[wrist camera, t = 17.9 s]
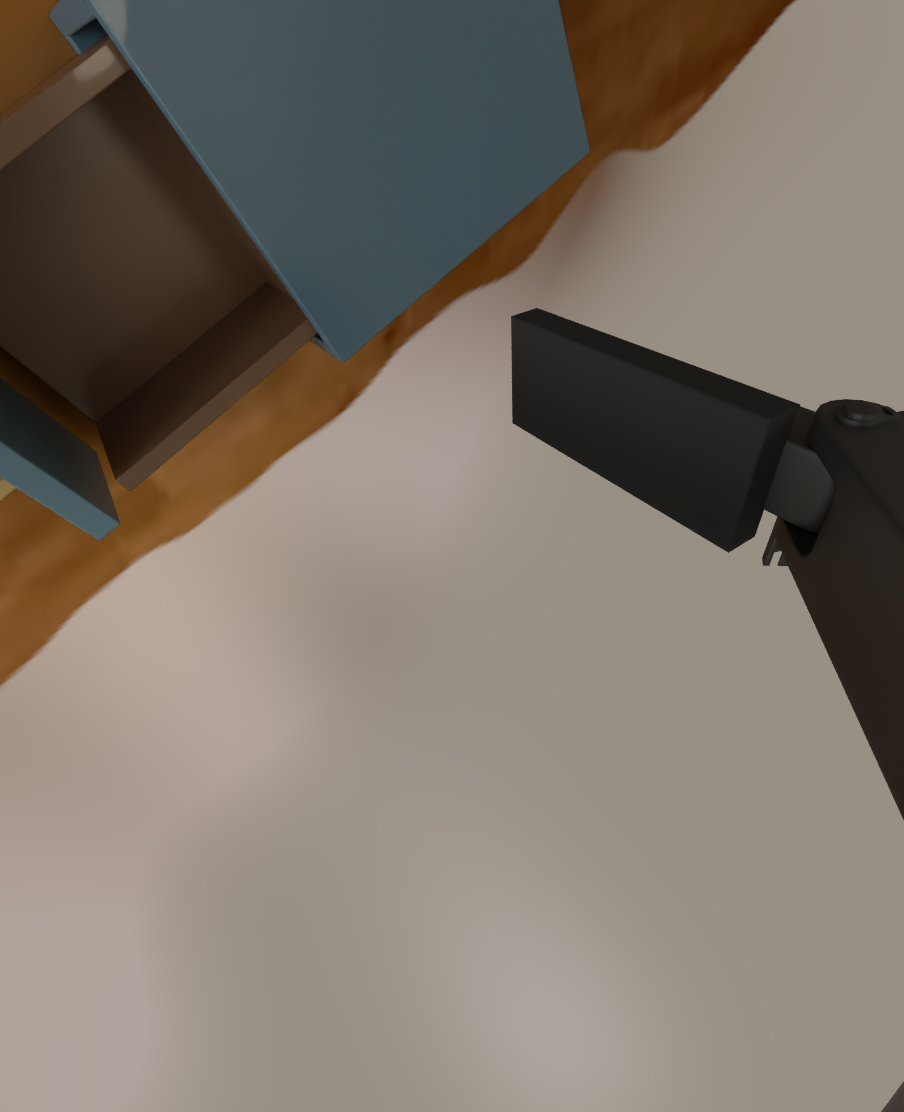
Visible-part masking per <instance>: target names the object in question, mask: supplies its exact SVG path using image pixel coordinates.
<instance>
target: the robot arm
mask: <svg viewBox="0 0 904 1112" xmlns="http://www.w3.org/2000/svg"><path fill="white" fill-rule="evenodd" d="M511 329H512V331H511V332H512V407H513V408H512V415H513V424H515V425H517V426H518V427H520V428H522V429H523V430H525V431H527V432H528V433H530V434H532V435H533V436H535V437H537V438H538V439H540V440H542V441H543V442H545V443H547V444H548V445H550V446H552V447H554V448H555V449H557V450H558V451H560V452H562V453H563V454H565V455H567V456H568V457H570V458H572V459H573V460H575V461H577V462H578V463H580V464H582V465H583V466H585V467H587V468H588V469H590V470H592V471H593V472H595V473H597V474H599V475H600V476H602V477H603V478H605V479H607V480H608V481H610V482H612V483H613V484H615V485H617V486H618V487H620V488H622V489H623V490H625V491H627V492H629V493H630V494H632V495H633V496H635V497H637V498H639V499H640V500H642V501H644V502H645V503H647V504H648V505H650V506H652V507H653V508H655V509H657V510H658V511H660V512H662V513H664V514H665V515H667V516H669V517H670V518H672V519H673V520H675V521H677V522H678V523H680V524H682V525H683V526H685V527H687V528H689V529H690V530H692V531H693V532H695V533H697V534H698V535H700V536H702V537H703V538H705V539H707V540H709V541H710V542H712V543H713V544H715V545H717V546H718V547H720V548H722V549H723V550H725V551H727V552H728V553H729V552H730V551H732V550H733V549H735V548H737V547H738V546H740V545H742V544H743V543H745V542H746V541H748V540H750V539H751V538H753V537H754V536H755V534H756V531H757V528H758V526H759V523H760V520H761V517H762V513H763V511H764V510H766V511H768V512H770V513H772V514H774V515H776V516H777V519H776V522H775V525H774V528H773V530H772V533H771V536H770V538H769V541H768V544H767V546H766V549H765V552H764V554H763V557H762V560H763V565H764V566H765V565H766V566H769V564H770V562H771V559H772V557H773V554H774V552H778V551H782V555H781V557H780V560H779V562H778V566H788V567H789V569H790V571H791V573H792V575H793V578H794V580H795V582H796V584H797V587H798V589H799V591H800V593H801V595H802V597H803V600H804V602H805V604H806V606H807V609H808V611H809V613H810V615H811V617H812V620H813V622H814V624H815V626H816V628H817V631H818V633H819V635H820V637H821V639H822V642H823V644H824V646H825V648H826V650H827V653H828V655H829V657H830V659H831V661H832V664H833V666H834V668H835V670H836V672H837V674H838V677H839V679H840V681H841V683H842V685H843V687H844V690H845V692H846V694H847V696H848V699H849V701H850V703H851V705H852V707H853V710H854V712H855V714H856V716H857V718H858V721H859V723H860V725H861V727H862V729H863V731H864V734H865V736H866V738H867V740H868V742H869V745H870V747H871V749H872V751H873V754H874V756H875V758H876V760H877V762H878V765H879V767H880V769H881V771H882V773H883V776H884V778H885V780H886V782H887V784H888V786H889V789H890V791H891V793H892V795H893V798H894V800H895V802H896V804H897V806H898V808H899V811H900V813H901V815H902V817H903V819H904V411H900V412H896V411H894V410H893V409H891V408H890V407H887V406H883V405H880V404H877V403H871V402H867V401H863V400H848V399H844V400H835V401H829V402H827V403H824V404H822V405H821V406H820V407H819V408H818V409H817V411H816V412H814V411H811V410H809V409H806V408H803V407H800V404H797V403H794V402H792V401H789V400H786V399H783V398H780V397H778V396H775V395H773V394H770V393H767V392H764V391H762V390H759V389H756V388H753V387H751V386H748V385H745V384H742V383H740V382H737V381H734V380H732V379H729V378H726V377H724V376H721V375H718V374H715V373H712V372H710V371H707V370H704V369H702V368H699V367H696V366H694V365H690V364H688V363H685V362H683V361H680V360H677V359H674V358H672V357H669V356H666V355H664V354H661V353H658V352H655V351H653V350H650V349H647V348H644V347H642V346H639V345H636V344H634V343H631V342H628V341H625V340H623V339H620V338H617V337H614V336H612V335H609V334H606V333H604V332H601V331H598V330H595V329H593V328H590V327H587V326H585V325H582V324H579V323H576V322H574V321H571V320H568V319H565V318H563V317H559V316H557V315H555V314H552V313H549V312H546V311H544V310H541V309H538V308H536V309H533V310H530V311H527V312H523V313H520V314H517V315H514V316H511ZM882 1112H904V1082H903V1083H902V1084H901V1086H900V1087H899V1088H898V1090H897V1091H896V1093H895V1094H894V1095H893V1097H892V1098H891V1099H890V1101H889V1102H888V1103H887V1105H886V1106H885V1107H884V1109H883V1110H882Z"/></svg>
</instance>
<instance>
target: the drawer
mask: <svg viewBox="0 0 904 1112" xmlns="http://www.w3.org/2000/svg"><path fill="white" fill-rule="evenodd" d="M317 333H318V332H317V331H316V330H315V328H314V327H313V325H312V324H311V322H310V321H309V320H308V318H307V317H306V315H305V314H304V312H303V311H302V310H301V308H300V307H299V305H298V304H297V303H296V301H295V300H294V298H293V297H292V295H291V294H290V293H289V291H288V290H287V288H286V287H285V285H284V284H283V283H282V281H281V280H280V278H279V277H278V276H277V274H276V273H275V271H274V270H273V268H272V267H271V266H270V264H269V263H268V261H267V260H266V258H265V257H264V256H263V254H262V253H261V251H260V250H259V249H258V247H257V246H256V244H255V243H254V241H253V240H252V239H251V237H250V236H249V234H248V233H247V231H246V230H245V229H244V227H243V226H242V224H241V223H240V222H239V220H238V219H237V217H236V216H235V214H234V213H233V212H232V210H231V209H230V207H229V206H228V204H227V203H226V202H225V200H224V199H223V197H222V196H221V195H220V193H219V192H218V190H217V189H216V187H215V186H214V185H213V183H212V182H211V180H210V179H209V177H208V176H207V175H206V173H205V172H204V170H203V169H202V168H201V166H200V165H199V163H198V162H197V160H196V159H195V158H194V156H193V155H192V153H191V152H190V150H189V149H188V148H187V146H186V145H185V143H184V142H183V141H182V139H181V138H180V136H179V135H178V133H177V132H176V131H175V129H174V128H173V126H172V125H171V123H170V122H169V121H168V119H167V118H166V116H165V115H164V114H163V112H162V111H161V109H160V108H159V106H158V105H157V104H156V102H155V101H154V99H153V98H152V96H151V95H150V94H149V92H148V91H147V89H146V88H145V87H144V85H143V84H142V82H141V81H140V79H139V78H138V77H137V75H136V74H135V72H134V71H133V69H132V68H131V67H130V65H129V64H128V62H127V61H126V59H125V58H124V57H123V55H122V54H121V52H120V51H119V50H118V48H117V47H116V45H115V44H114V42H113V41H112V40H111V38H110V37H109V35H108V34H107V33H106V34H105V35H103V36H102V37H101V38H99V39H98V40H97V41H96V42H94V43H93V44H92V45H90V46H89V47H88V48H86V49H85V50H84V51H82V52H81V53H80V54H79V55H77V56H76V57H75V58H73V59H72V60H71V61H69V62H68V63H67V64H65V65H64V66H63V67H62V68H60V69H59V70H58V71H56V72H55V73H54V74H52V75H51V76H50V77H49V78H47V79H46V80H45V81H43V82H42V83H41V84H39V85H38V86H37V87H35V88H34V89H33V90H32V91H30V92H29V93H28V94H26V95H25V96H24V97H22V98H21V99H20V100H18V101H17V102H16V103H15V104H13V105H12V106H11V107H9V108H8V109H7V110H5V111H4V112H3V113H1V114H0V347H1V348H2V349H3V350H5V351H6V352H7V353H8V354H10V355H11V356H12V357H13V358H15V359H16V360H17V361H18V362H20V363H21V364H22V365H23V366H25V367H26V368H27V369H28V370H29V371H31V372H32V373H33V374H34V375H36V376H37V377H38V378H39V379H41V380H42V381H43V382H44V383H46V384H47V385H48V386H49V387H51V388H52V389H53V390H54V391H55V392H57V393H58V394H59V395H60V396H62V397H63V398H64V399H65V400H67V401H68V402H69V403H70V404H72V405H73V406H74V407H75V408H77V409H78V410H79V411H80V412H81V413H83V414H84V415H85V416H86V417H88V418H89V419H90V420H91V421H93V422H94V423H95V424H96V426H97V429H98V432H99V435H100V437H101V440H102V443H103V446H104V449H105V451H106V454H107V457H108V460H109V462H110V465H111V468H112V471H113V474H114V476H115V479H116V481H117V482H118V483H120V484H121V485H122V486H124V487H125V488H126V489H128V490H129V491H131V490H133V489H134V488H135V487H136V486H137V485H139V484H140V483H141V482H142V481H143V480H145V479H146V478H147V477H148V476H149V475H150V474H152V473H153V472H154V471H155V470H156V469H158V468H159V467H160V466H161V465H162V464H163V463H165V462H166V461H167V460H168V459H169V458H171V457H172V456H173V455H174V454H175V453H176V452H178V451H179V450H180V449H181V448H182V447H184V446H185V445H186V444H187V443H188V442H189V441H191V440H192V439H193V438H194V437H195V436H197V435H198V434H199V433H200V432H201V431H202V430H204V429H205V428H206V427H207V426H208V425H210V424H211V423H212V422H213V421H214V420H215V419H217V418H218V417H219V416H220V415H221V414H222V413H224V412H225V411H226V410H227V409H228V408H230V407H231V406H232V405H233V404H234V403H235V402H237V401H238V400H239V399H240V398H241V397H243V396H244V395H245V394H246V393H247V392H248V391H250V390H251V389H252V388H253V387H254V386H256V385H257V384H258V383H259V382H260V381H261V380H263V379H264V378H265V377H266V376H267V375H269V374H270V373H271V372H272V371H273V370H274V369H276V368H277V367H278V366H279V365H280V364H282V363H283V362H284V361H285V360H286V359H287V358H289V357H290V356H291V355H292V354H293V353H295V352H296V351H297V350H298V349H299V348H300V347H302V346H303V345H304V344H305V343H306V342H308V341H309V340H310V339H311V338H312V337H313V336H315V335H316V334H317ZM15 488H17V489H19V490H20V491H22V492H24V493H25V494H27V495H28V496H30V497H31V498H33V499H35V500H36V501H38V502H39V503H41V504H42V505H44V506H46V507H47V508H49V509H50V510H52V511H53V512H55V513H57V514H58V515H60V516H61V517H63V518H65V519H66V520H68V521H69V522H71V523H72V524H74V525H76V526H77V527H79V528H80V529H82V530H83V531H85V532H87V533H88V534H90V535H91V536H93V537H94V538H96V539H98V540H101V539H103V538H104V537H105V536H106V535H107V534H108V533H110V532H111V531H112V530H113V529H114V528H116V527H117V526H118V525H119V524H120V521H119V518H118V515H117V512H116V509H115V506H114V503H113V500H112V497H111V494H110V491H109V488H108V485H107V482H106V479H105V476H104V473H103V470H102V467H101V464H100V461H99V458H98V455H97V452H96V451H95V450H93V449H92V448H91V447H90V446H88V445H87V444H86V443H84V442H83V441H82V440H80V439H79V438H78V437H77V436H75V435H74V434H73V433H71V432H70V431H69V430H67V429H66V428H65V427H63V426H62V425H61V424H60V423H58V422H57V421H56V420H54V419H53V418H52V417H50V416H49V415H48V414H47V413H45V412H44V411H43V410H41V409H40V408H39V407H37V406H36V405H35V404H33V403H32V402H31V401H30V400H28V399H27V398H26V397H24V396H23V395H22V394H20V393H19V392H18V391H17V390H15V389H14V388H13V387H11V386H10V385H9V384H7V383H6V382H5V381H3V380H2V379H1V378H0V501H1V500H2V499H3V498H4V497H6V496H7V495H8V494H9V493H10V492H12V491H13V490H14V489H15Z"/></svg>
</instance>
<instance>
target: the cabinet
mask: <svg viewBox="0 0 904 1112" xmlns="http://www.w3.org/2000/svg"><path fill="white" fill-rule="evenodd" d="M49 16H50V18H51V19H52V21H53V22H54V23H55V25H56V26H57V27H58V29H59V30H60V31H61V33H62V34H63V35H64V37H65V38H66V39H67V41H68V42H69V43H70V45H71V46H72V47H73V48H74V50H75V51H76V52H77V54H78V55H79V54H80V53H81V52H82V51H84V50H85V49H86V48H88V47H89V46H90V45H92V44H93V43H94V42H96V41H97V40H98V39H99V38H101V37H102V36H103V35H105V34H106V33H107V34H108V35H109V37H110V38H111V40H112V41H113V42H114V44H115V45H116V47H117V48H118V50H119V51H120V52H121V54H122V55H123V57H124V58H125V59H126V61H127V62H128V64H129V65H130V67H131V68H132V69H133V71H134V72H135V74H136V75H137V77H138V78H139V79H140V81H141V82H142V84H143V85H144V87H145V88H146V89H147V91H148V92H149V94H150V95H151V96H152V98H153V99H154V101H155V102H156V104H157V105H158V106H159V108H160V109H161V111H162V112H163V114H164V115H165V116H166V118H167V119H168V121H169V122H170V123H171V125H172V126H173V128H174V129H175V131H176V132H177V133H178V135H179V136H180V138H181V139H182V141H183V142H184V143H185V145H186V146H187V148H188V149H189V150H190V152H191V153H192V155H193V156H194V158H195V159H196V160H197V162H198V163H199V165H200V166H201V168H202V169H203V170H204V172H205V173H206V175H207V176H208V177H209V179H210V180H211V182H212V183H213V185H214V186H215V187H216V189H217V190H218V192H219V193H220V195H221V196H222V197H223V199H224V200H225V202H226V203H227V204H228V206H229V207H230V209H231V210H232V212H233V213H234V214H235V216H236V217H237V219H238V220H239V222H240V223H241V224H242V226H243V227H244V229H245V230H246V231H247V233H248V234H249V236H250V237H251V239H252V240H253V241H254V243H255V244H256V246H257V247H258V249H259V250H260V251H261V253H262V254H263V256H264V257H265V258H266V260H267V261H268V263H269V264H270V266H271V267H272V268H273V270H274V271H275V273H276V274H277V276H278V277H279V278H280V280H281V281H282V283H283V284H284V285H285V287H286V288H287V290H288V291H289V293H290V294H291V295H292V297H293V298H294V300H295V301H296V303H297V304H298V305H299V307H300V308H301V310H302V311H303V312H304V314H305V315H306V317H307V318H308V320H309V321H310V322H311V324H312V325H313V327H314V328H315V330H316V331H317V332H318V333H317V334H316V335H315V336H313V337H312V338H311V339H310V340H311V341H312V342H314V343H315V344H316V345H318V346H319V347H320V348H322V349H323V350H325V351H326V352H327V353H329V354H330V355H331V356H333V357H334V358H336V359H338V360H339V361H340V362H342V363H344V362H345V361H346V360H347V359H349V358H350V357H351V356H352V355H353V354H354V353H356V352H357V351H358V350H359V349H360V348H361V347H363V346H364V345H365V344H366V343H367V342H368V341H370V340H371V339H372V338H373V337H374V336H375V335H377V334H378V333H379V332H380V331H381V330H383V329H384V328H385V327H386V326H387V325H388V324H390V323H391V322H392V321H393V320H394V319H395V318H397V317H398V316H399V315H400V314H401V313H402V312H404V311H405V310H406V309H407V308H408V307H409V306H411V305H412V304H413V303H414V302H415V301H416V300H418V299H419V298H420V297H421V296H422V295H423V294H425V293H426V292H427V291H428V290H429V289H430V288H432V287H433V286H434V285H435V284H436V283H437V282H439V281H440V280H441V279H442V278H443V277H444V276H446V275H447V274H448V273H449V272H450V271H451V270H453V269H454V268H455V267H456V266H457V265H458V264H460V263H461V262H462V261H463V260H464V259H465V258H467V257H468V256H469V255H470V254H471V253H472V252H474V251H475V250H476V249H477V248H478V247H480V246H481V245H482V244H483V243H484V242H485V241H487V240H488V239H489V238H490V237H491V236H492V235H494V234H495V233H496V232H497V231H498V230H499V229H501V228H502V227H503V226H504V225H505V224H506V223H508V222H509V221H510V220H511V219H512V218H513V217H515V216H516V215H517V214H518V213H519V212H520V211H522V210H523V209H524V208H525V207H526V206H527V205H529V204H530V203H531V202H532V201H533V200H534V199H536V198H537V197H538V196H539V195H540V194H541V193H543V192H544V191H545V190H546V189H547V188H548V187H550V186H551V185H552V184H553V183H554V182H555V181H557V180H558V179H559V178H560V177H561V176H562V175H564V174H565V173H566V172H567V171H568V170H570V169H571V168H572V167H573V166H574V165H575V164H577V163H578V162H579V161H580V160H581V159H582V158H584V157H585V156H586V155H587V154H588V153H589V152H590V148H589V144H588V139H587V134H586V129H585V125H584V120H583V115H582V110H581V105H580V101H579V96H578V91H577V86H576V81H575V77H574V72H573V67H572V62H571V57H570V53H569V48H568V43H567V38H566V33H565V29H564V24H563V19H562V14H561V9H560V5H559V0H59V1H58V3H57V4H56V5H55V6H54V8H53V9H52V10H51V11H50V13H49Z"/></svg>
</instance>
